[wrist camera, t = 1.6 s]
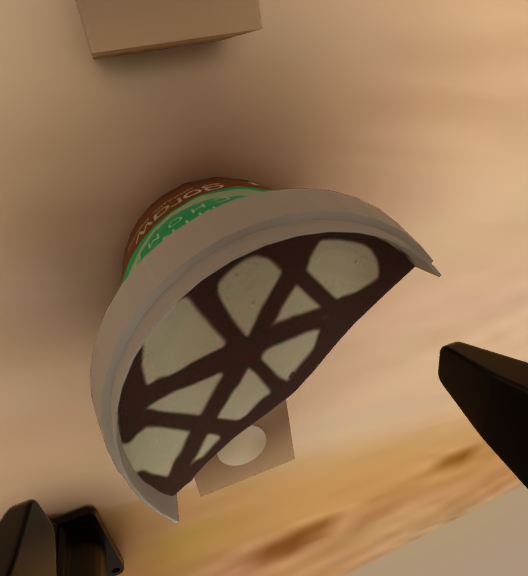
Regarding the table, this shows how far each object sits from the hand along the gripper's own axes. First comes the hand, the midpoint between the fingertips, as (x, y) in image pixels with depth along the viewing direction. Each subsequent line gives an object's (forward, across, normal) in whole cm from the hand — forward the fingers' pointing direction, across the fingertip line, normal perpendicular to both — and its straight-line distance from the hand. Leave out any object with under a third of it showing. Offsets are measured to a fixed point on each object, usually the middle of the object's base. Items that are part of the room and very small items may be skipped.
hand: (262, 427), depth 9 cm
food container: (+13, 0, 0) cm, 13 cm away
